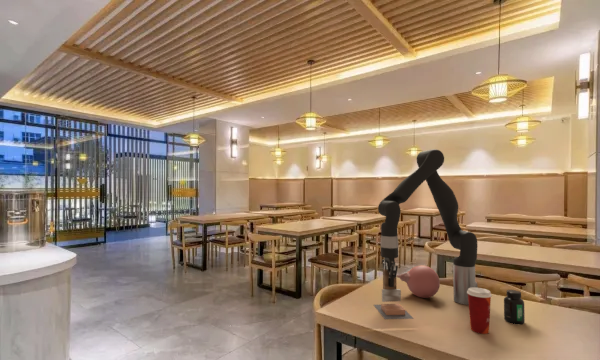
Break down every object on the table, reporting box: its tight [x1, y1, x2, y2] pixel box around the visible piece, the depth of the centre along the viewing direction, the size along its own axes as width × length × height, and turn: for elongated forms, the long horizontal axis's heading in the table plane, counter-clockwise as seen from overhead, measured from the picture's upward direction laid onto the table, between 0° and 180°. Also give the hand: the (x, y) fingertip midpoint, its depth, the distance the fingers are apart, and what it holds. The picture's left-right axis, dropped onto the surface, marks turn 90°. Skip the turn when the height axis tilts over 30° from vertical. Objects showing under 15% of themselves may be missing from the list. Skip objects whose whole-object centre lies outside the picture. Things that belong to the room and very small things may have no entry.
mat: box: [373, 304, 415, 320], centre depth 136 cm, size 12×16×1 cm
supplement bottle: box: [503, 289, 526, 326], centre depth 128 cm, size 7×7×12 cm
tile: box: [380, 303, 406, 315], centre depth 135 cm, size 8×2×7 cm
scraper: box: [381, 268, 402, 303], centre depth 139 cm, size 8×4×13 cm, turn 93°
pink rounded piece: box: [396, 264, 441, 299], centre depth 157 cm, size 15×20×15 cm
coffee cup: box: [467, 287, 493, 335], centre depth 120 cm, size 8×8×15 cm
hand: (389, 285), depth 140 cm, fingers closed on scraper, 3 cm apart
